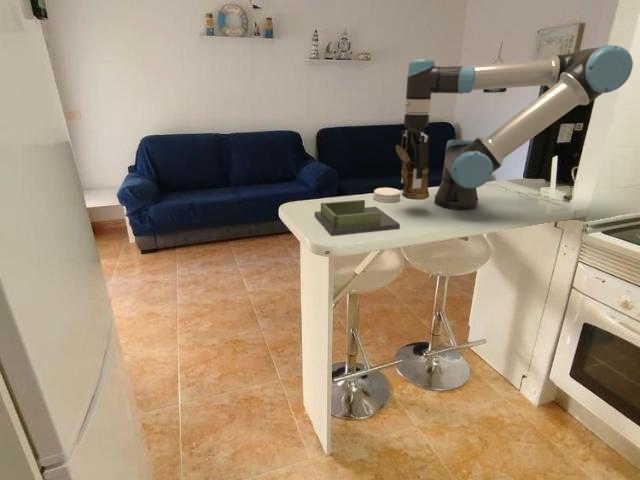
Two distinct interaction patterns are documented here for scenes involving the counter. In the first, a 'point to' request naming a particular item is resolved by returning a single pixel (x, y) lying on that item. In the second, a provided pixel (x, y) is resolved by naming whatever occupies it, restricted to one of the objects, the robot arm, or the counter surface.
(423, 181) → the wooden mug
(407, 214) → the counter surface
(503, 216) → the counter surface
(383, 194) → the coaster
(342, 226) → the green and grey tray
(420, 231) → the counter surface
